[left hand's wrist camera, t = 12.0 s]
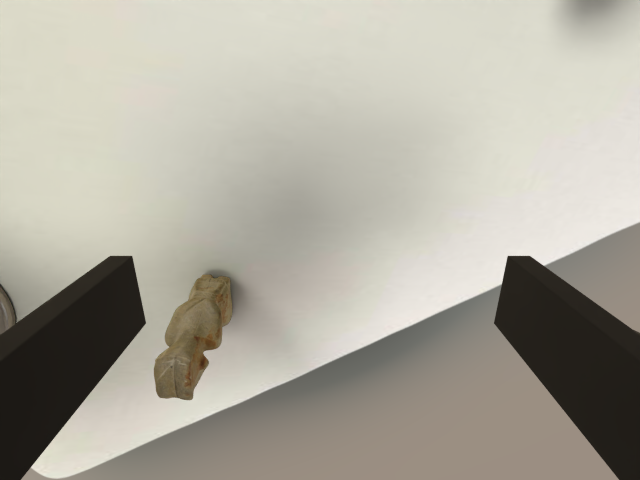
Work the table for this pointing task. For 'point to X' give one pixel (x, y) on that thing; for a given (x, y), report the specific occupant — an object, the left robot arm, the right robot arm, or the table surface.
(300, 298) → the table surface
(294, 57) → the table surface
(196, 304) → the sculpture
